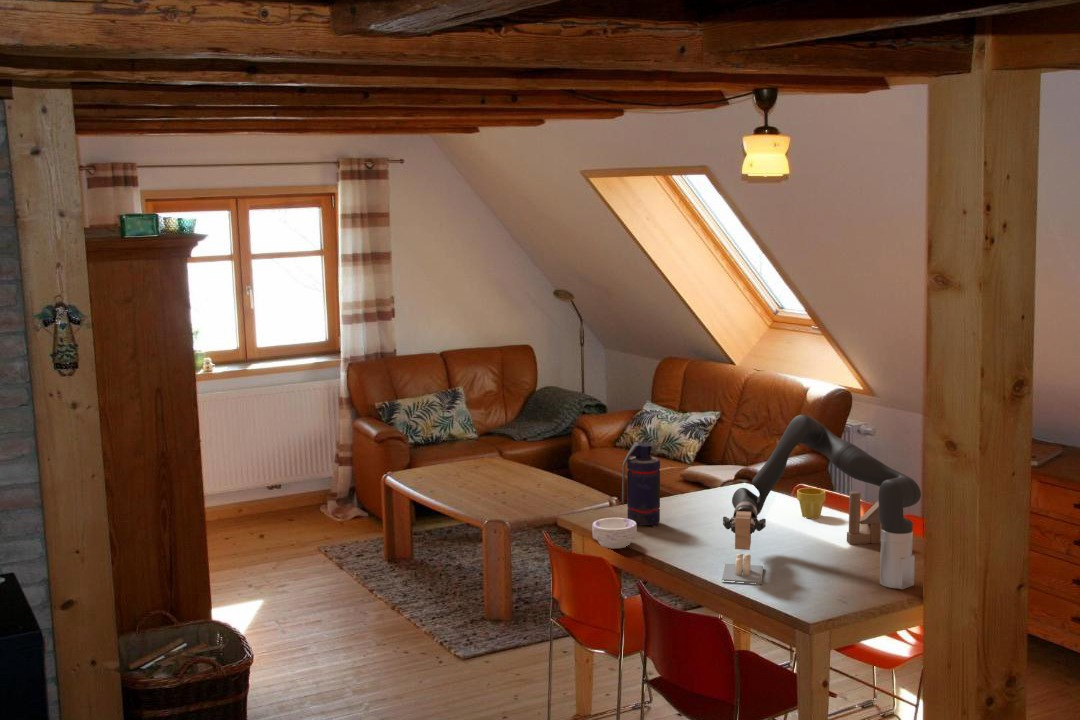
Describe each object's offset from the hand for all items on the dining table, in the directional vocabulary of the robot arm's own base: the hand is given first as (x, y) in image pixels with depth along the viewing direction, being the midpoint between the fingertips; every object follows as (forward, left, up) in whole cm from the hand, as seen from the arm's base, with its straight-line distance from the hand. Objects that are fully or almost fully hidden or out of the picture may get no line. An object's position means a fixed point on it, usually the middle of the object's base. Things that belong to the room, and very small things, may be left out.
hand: (742, 530), depth 360 cm
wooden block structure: (0, -61, -16) cm, 63 cm away
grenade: (+66, -18, -16) cm, 70 cm away
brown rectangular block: (+2, -3, -6) cm, 7 cm away
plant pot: (+33, -73, -16) cm, 82 cm away
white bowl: (+52, +7, -16) cm, 55 cm away
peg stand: (+2, -3, -16) cm, 16 cm away
